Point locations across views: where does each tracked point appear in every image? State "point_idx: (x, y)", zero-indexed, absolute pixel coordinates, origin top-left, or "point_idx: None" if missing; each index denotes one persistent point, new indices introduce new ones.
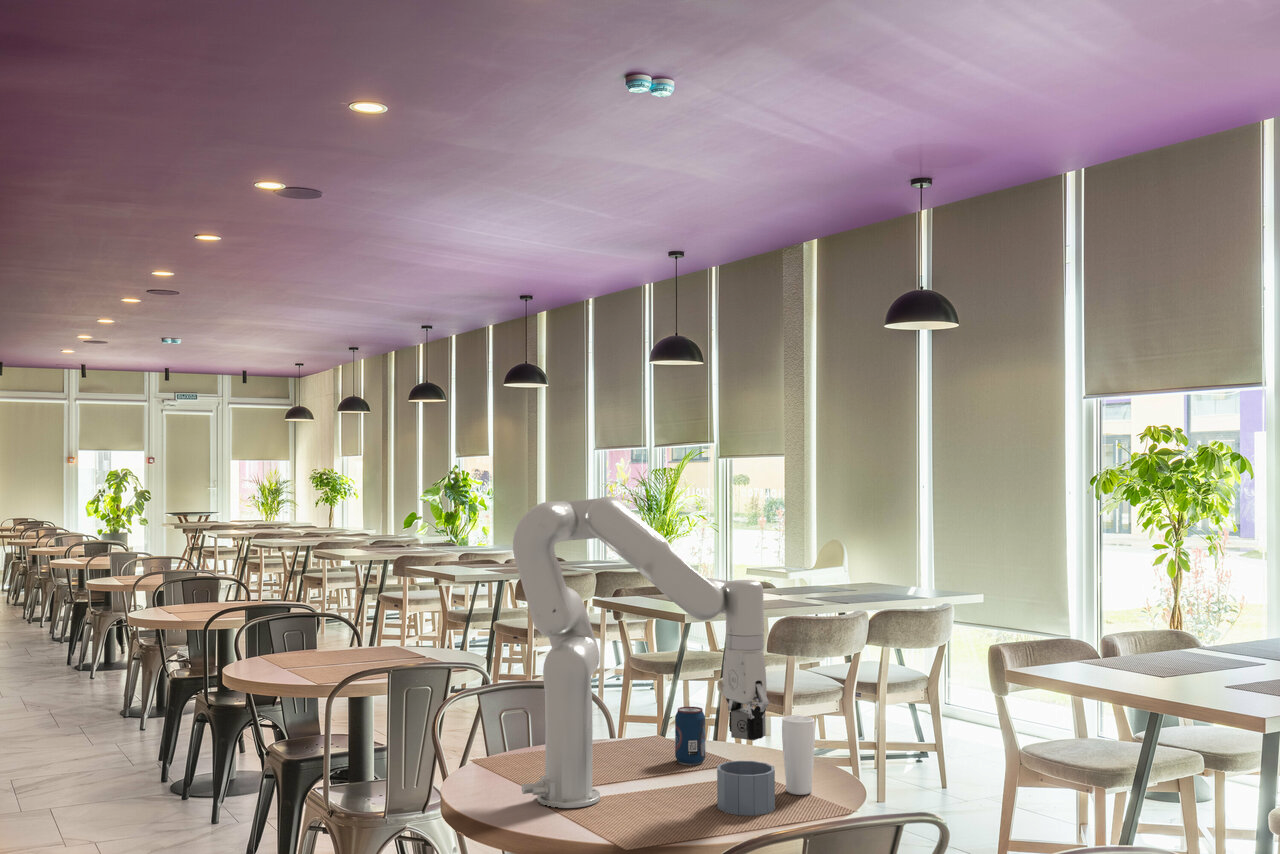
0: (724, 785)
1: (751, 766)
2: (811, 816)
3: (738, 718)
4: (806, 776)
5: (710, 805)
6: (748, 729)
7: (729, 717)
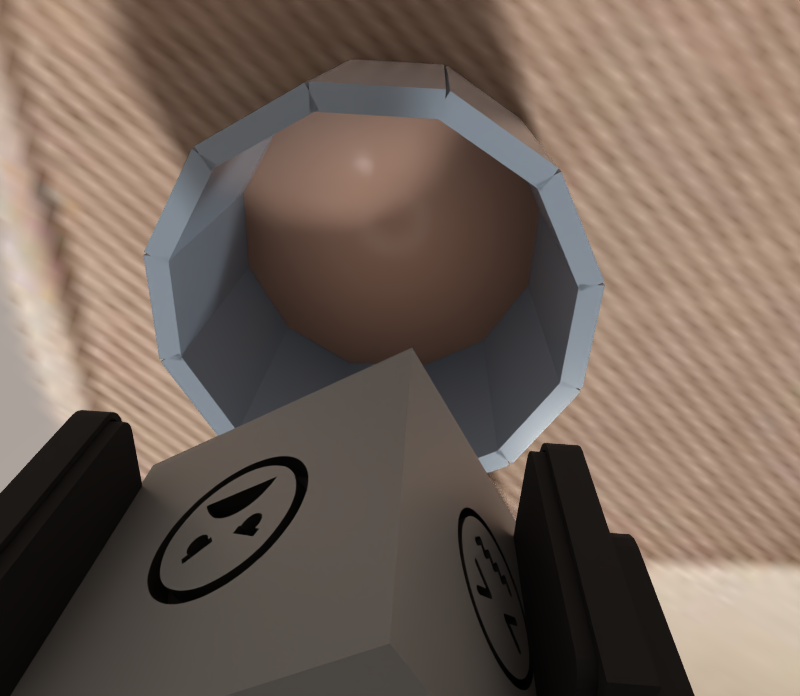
0: (332, 73)
1: (498, 427)
2: (136, 403)
3: (255, 589)
4: None
5: (519, 58)
6: (14, 485)
7: (624, 588)
